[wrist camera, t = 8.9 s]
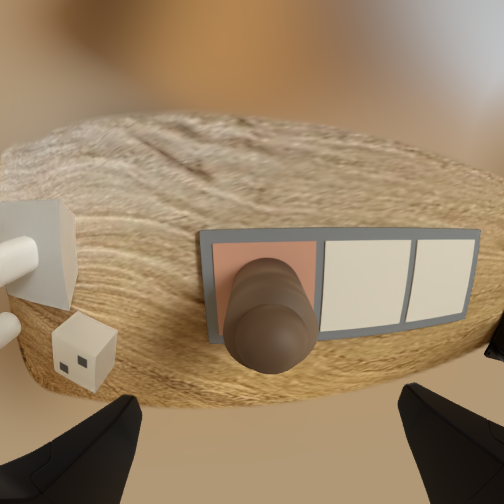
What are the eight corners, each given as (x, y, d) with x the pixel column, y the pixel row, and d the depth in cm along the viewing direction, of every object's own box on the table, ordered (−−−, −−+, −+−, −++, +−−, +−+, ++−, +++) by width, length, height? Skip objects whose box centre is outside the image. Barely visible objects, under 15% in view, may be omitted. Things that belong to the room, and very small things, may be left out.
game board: (477, 229, 17) (481, 230, 17) (462, 317, 19) (465, 319, 18) (200, 230, 17) (199, 231, 17) (210, 340, 19) (209, 344, 19)
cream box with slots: (118, 330, 19) (95, 357, 15) (114, 365, 20) (94, 394, 16) (78, 310, 19) (50, 333, 15) (77, 346, 20) (54, 371, 16)
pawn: (311, 271, 17) (347, 328, 10) (284, 329, 18) (299, 406, 11) (245, 247, 17) (238, 293, 10) (222, 309, 18) (204, 382, 11)
